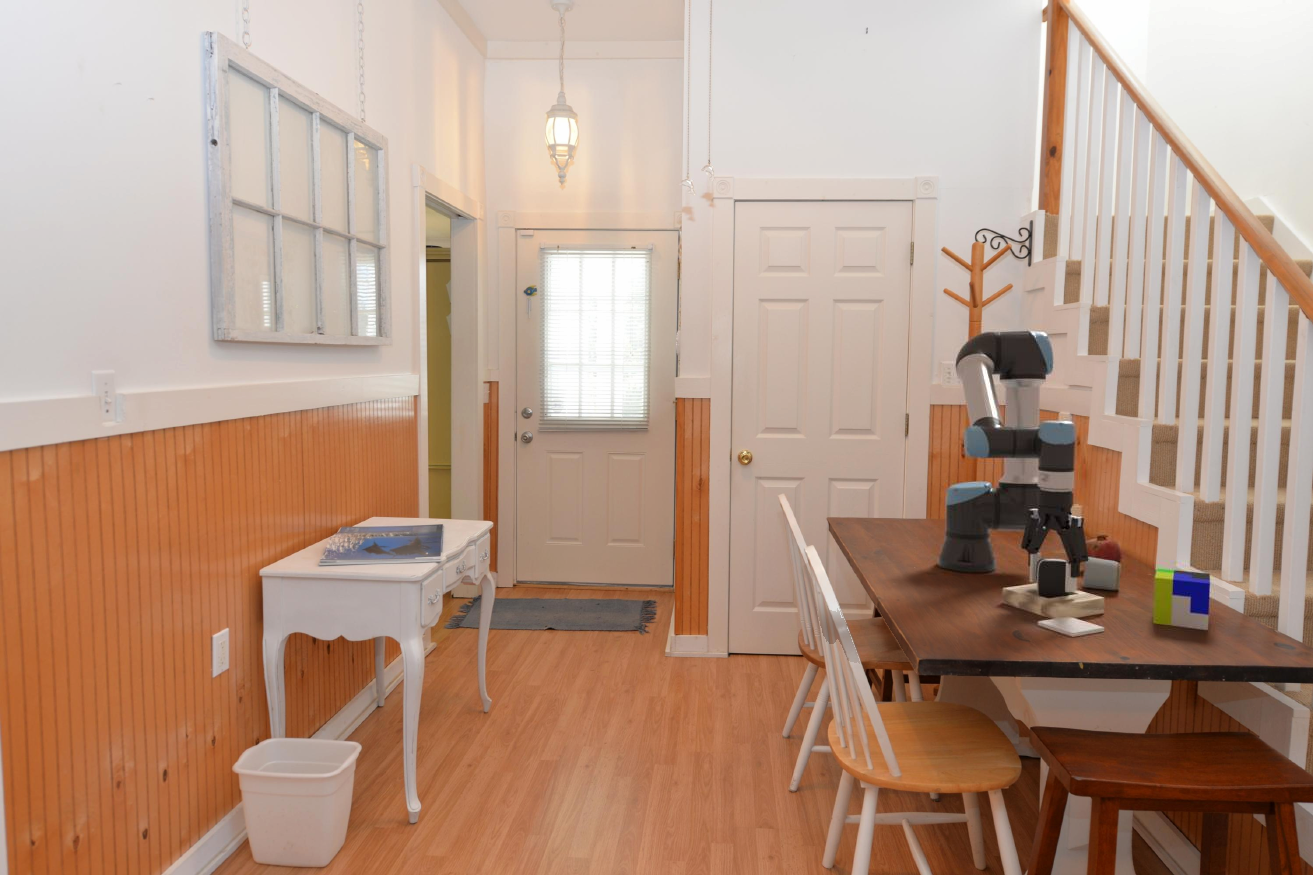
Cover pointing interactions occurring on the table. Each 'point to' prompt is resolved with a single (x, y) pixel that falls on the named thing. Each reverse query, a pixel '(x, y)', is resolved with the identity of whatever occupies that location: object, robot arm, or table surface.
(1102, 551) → the fruit
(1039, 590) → the battery charger
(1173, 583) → the puzzle toy
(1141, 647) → the table surface
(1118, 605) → the table surface
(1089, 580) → the grey rounded block
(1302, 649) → the table surface
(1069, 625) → the white square tile
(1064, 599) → the holder block
